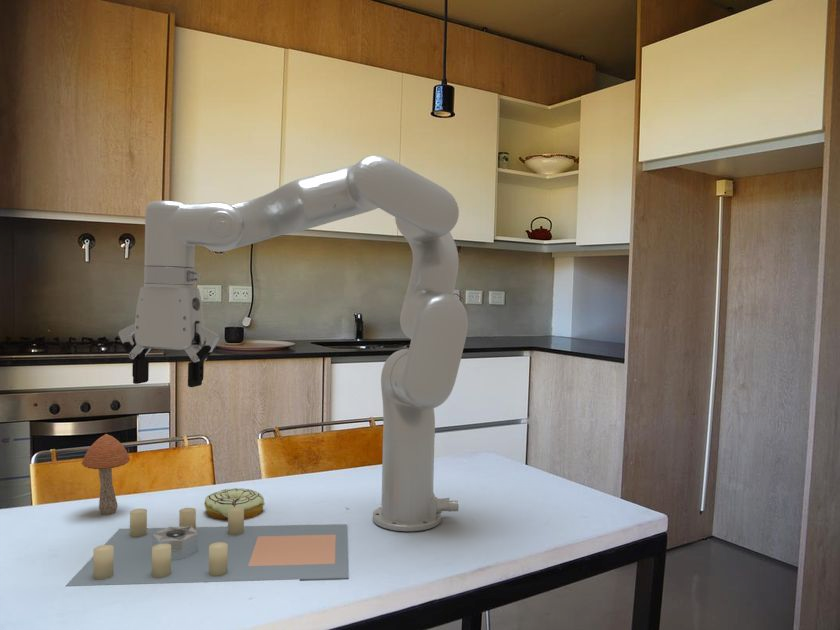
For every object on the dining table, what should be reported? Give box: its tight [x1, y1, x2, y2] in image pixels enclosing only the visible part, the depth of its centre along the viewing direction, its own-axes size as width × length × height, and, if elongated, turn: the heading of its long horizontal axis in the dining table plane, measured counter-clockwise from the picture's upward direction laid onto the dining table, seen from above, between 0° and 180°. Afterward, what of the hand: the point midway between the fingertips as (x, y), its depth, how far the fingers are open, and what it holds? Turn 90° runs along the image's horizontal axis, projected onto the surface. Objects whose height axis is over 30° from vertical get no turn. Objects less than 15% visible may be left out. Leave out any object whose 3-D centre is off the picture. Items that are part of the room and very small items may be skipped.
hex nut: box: [153, 526, 198, 560], centre depth 102 cm, size 7×6×3 cm
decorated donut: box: [203, 487, 266, 520], centre depth 121 cm, size 10×11×4 cm
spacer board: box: [65, 507, 349, 587], centre depth 102 cm, size 39×22×4 cm, turn 97°
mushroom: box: [81, 433, 131, 516], centre depth 118 cm, size 8×8×15 cm
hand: (167, 384), depth 105 cm, fingers open, 9 cm apart
